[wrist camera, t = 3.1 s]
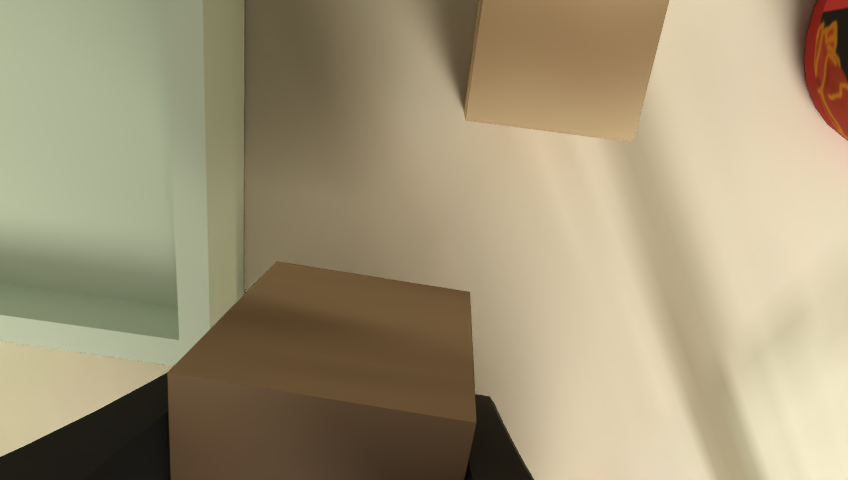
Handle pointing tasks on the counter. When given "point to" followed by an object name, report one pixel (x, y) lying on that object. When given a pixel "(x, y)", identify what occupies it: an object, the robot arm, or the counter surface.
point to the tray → (120, 173)
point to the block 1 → (327, 383)
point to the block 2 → (563, 64)
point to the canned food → (829, 62)
